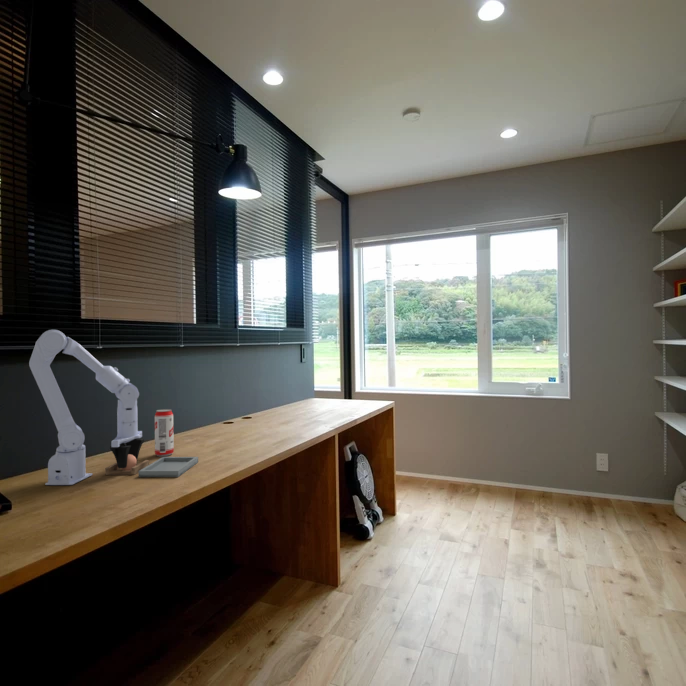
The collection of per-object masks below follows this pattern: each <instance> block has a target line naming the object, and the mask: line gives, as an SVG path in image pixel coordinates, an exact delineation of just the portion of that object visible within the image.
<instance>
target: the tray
mask: <svg viewBox="0 0 686 686" xmlns="http://www.w3.org/2000/svg"><path fill="white" fill-rule="evenodd" d="M198 463H199V456H163V457H160V458H159V459H157V460H155V461H154V462H152V463H149V465H148V466H146V467H145V468H143V469H141V470H140V471H139V472H138V478H179V477H181V476H182V475H183V474H184V473H186V472H188V470H190V469H191V468H192V467H194V466H195V465H196V464H198Z"/></svg>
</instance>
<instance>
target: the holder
mask: <svg viewBox="0 0 686 686" xmlns="http://www.w3.org/2000/svg"><path fill="white" fill-rule="evenodd" d="M148 465H150V460H148V459H145V460H143V461H142V462H138V463H136V466H134V467H132V468H131V470H122V469H121V468H118V465H117V462H115V463H113V464H111V465H109V466H107V467H105V468H104V469H105V472H104V473H105V475H106V476H109V475H110V476H112V475H116V476H117V475H118V476H119V475H120V476H123V475H125V476H126V475H127V476H128V475H129V476H131V475H132V476H134V475H136V474H139V471H140V470H141V469H143V468H145V467H146V466H148Z"/></svg>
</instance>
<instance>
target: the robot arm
mask: <svg viewBox="0 0 686 686" xmlns="http://www.w3.org/2000/svg"><path fill="white" fill-rule="evenodd" d="M61 351H62V354H65V355H69V356H73V357H74V358H76V359H77V360H78V361H80V362H81V364H83V365H85V366H86V367H87V368H88V369H90V370H91V371H92V372H94V373H95V380H96V382H98V383H99V384H101V385H102V386H103V387H104V388H106V390H108V391H109V392H111V394H115V397H116V398H117V407H116V413H117V414H116V416H117V417H116V419H117V420H116V421H117V422H116V426H117V427H116V428H117V429H116V430H117V435H116V436H115V438H114V439H113V440H111V445H110V446H109V450H110V451H111V452H112V454H113V456H114V458H115V461H116V463H117V465H118V468H126V466H127V458H128V454H131V455H133V456H135V458H136V460H137V461H138V458H139V454H140V451H141V449H142V446H143V444H144V442H145V438H142V437H143V430H139V429H138V428H139V427H138V426H139V425H138V421H139V420H138V417H139V416H138V399H139V398H140V397H139V396H140V392H139V389H138V387H137V386H136V385H134V384H133V383H131V382H130V381H131V380H130V378H129V377H128V378H126V377H125V376H124V375H122V374H121V373H120V372H119V369H118V367H116V366H114V367H113V366H111V365H103V363H101V362H100V361H99V360H98V359H97V358H95V357H94V356H93V355H92V354H91V353H90V352H89V351H88V350H87V349H85V347H83V345H81V344H80V343H78V342H77V341H76V340H74V339H72V338H71V337H69V336H66V335H65V333H63V332H62V331H60V330H58V329H48V330H46V331H44V332H42V334H41V335H40V336H39V337H38V339H37V340H36V341H35V345H34V348H33V350H32V353H31V356H30V358H29V362H28V364H29V365H28V366H29V369H30V370H31V374H32V375H33V377H34V380H35V382H36V384H37V386H38V389H39V390H40V393H41V395H42V397H43V399H44V402H45V405H46V406H47V409H48V411H49V413H50V416H51V417H52V420H53V422H54V425H55V427H56V430H57V432H58V433H57V439H58V444H59V445H58V446H57V447H56V451H55V454H54V455H52V456H50V458H49V459H48V463H47V481H46V482H45V483H44V484H45V485H46V486H73V485H76V484H77V483H79V482H81V481H83V480H85V479H87V478H89V477H91V476H93V473H92V472H91V473H88V472H86V467H87V466H86V465H87V464H86V445H85V444H84V442H85V438H86V437H85V433H84V432H83V430H82V428H81V427H80V426H79V425H77V423H76V422H75V420H74V418H73V416H72V414H71V412H70V408H69V407H68V404H67V402H66V400H65V398H64V395H63V393H62V391H61V388H60V387H59V384H58V382H57V379H56V378H55V375H54V373H53V370H52V368H51V364H52V363H53V361H54V359H55V357H56V355H57V354H59V353H60V352H61Z"/></svg>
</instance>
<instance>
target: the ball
mask: <svg viewBox="0 0 686 686" xmlns="http://www.w3.org/2000/svg"><path fill="white" fill-rule="evenodd" d="M137 462H138V459H137V460H136V458H135V456H133V455H131V454H128V458H127V466H126V468H121V469H120V470H131V468H132V467H134V466H136V463H137Z"/></svg>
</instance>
